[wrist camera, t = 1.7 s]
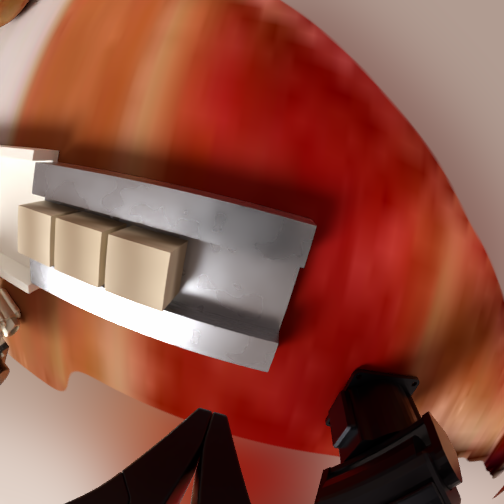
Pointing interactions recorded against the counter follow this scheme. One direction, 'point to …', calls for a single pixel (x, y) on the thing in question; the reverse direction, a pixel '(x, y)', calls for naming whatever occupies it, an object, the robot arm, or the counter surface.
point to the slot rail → (189, 261)
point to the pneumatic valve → (7, 328)
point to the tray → (6, 208)
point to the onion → (10, 10)
